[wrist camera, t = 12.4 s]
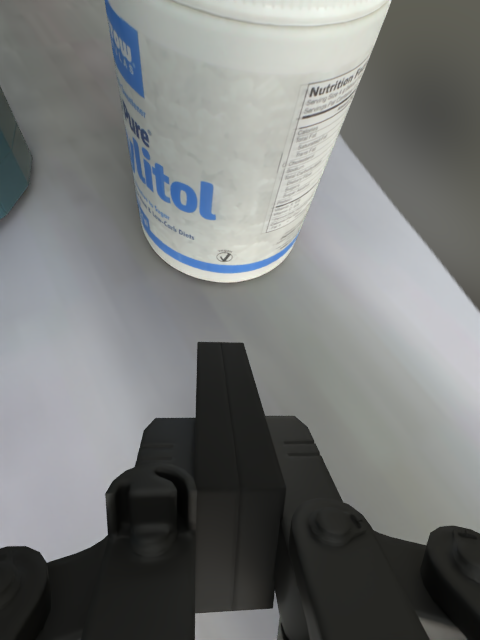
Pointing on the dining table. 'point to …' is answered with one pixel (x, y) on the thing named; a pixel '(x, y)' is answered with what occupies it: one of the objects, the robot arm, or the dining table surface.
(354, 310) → the dining table surface
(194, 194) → the supplement tub
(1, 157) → the bowl
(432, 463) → the dining table surface
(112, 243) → the dining table surface
